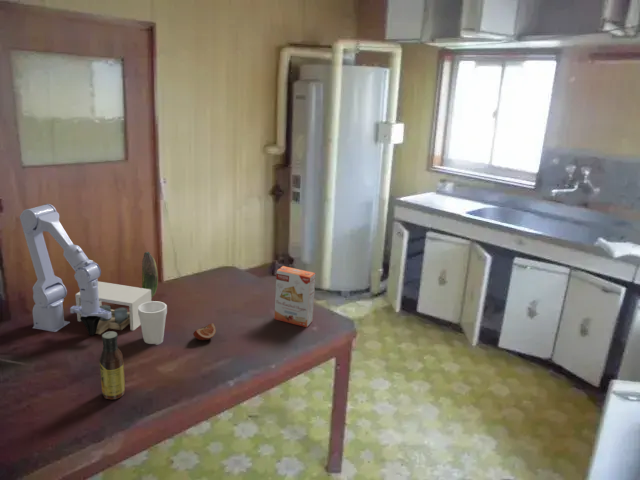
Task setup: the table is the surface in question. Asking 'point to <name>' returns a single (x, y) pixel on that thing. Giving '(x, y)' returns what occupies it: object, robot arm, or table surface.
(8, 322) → the table surface
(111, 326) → the serving board
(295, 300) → the cracker box
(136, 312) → the shelf
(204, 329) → the fruit slice
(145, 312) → the foam cup
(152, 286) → the vegetable
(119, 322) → the grey-blue tapered cylinder
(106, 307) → the pale blue rounded cylinder
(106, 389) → the sauce bottle
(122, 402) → the table surface
